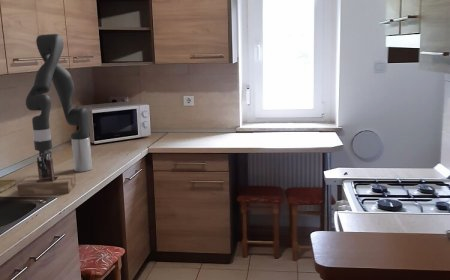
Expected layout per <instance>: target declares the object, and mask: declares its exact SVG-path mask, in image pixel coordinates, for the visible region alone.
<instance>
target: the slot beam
mask: <svg viewBox="0 0 450 280" xmlns="http://www.w3.org/2000/svg"><path fill="white" fill-rule="evenodd" d="M54 177H55V181H54V182H39V176H28V177H26V178H24V179H23V180H22V181H21V182H19V183H17V185H16V188H17V195H18V197H24V196H25V197H27V196H42V195H45V196H46V195H60V194H61V195H65V194H70V192H71V191H72V190H73V189H74V188H75V187H76V186H77V180H76V174H63V175H62V174H61V175H60V174H59V175H54Z"/></svg>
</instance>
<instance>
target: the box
mask: <svg viewBox="0 0 450 280" xmlns="http://www.w3.org/2000/svg"><path fill="white" fill-rule="evenodd" d="M44 162H46V161H44ZM36 164H37V171H38V177H39V182H54V181H55V177H54V176H55V169H54V159H53V158H52V157H51V158H50V159H48V164H47V174H48V177H44V178H43V177H42V169H39V165H38V161H37V160H36ZM42 166H43V165H42Z"/></svg>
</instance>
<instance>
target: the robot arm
mask: <svg viewBox="0 0 450 280" xmlns="http://www.w3.org/2000/svg"><path fill="white" fill-rule="evenodd" d="M62 37H63V36H61V35H60V34H57V33H50V34H49V33H48V34H39V35H37V37H36V40H35V41H36V42H35V43H36V47H37V50H38V53H39V54H40V56H41V58H42V60H43V62H44V63H43V64H42V65H41V66H40V67H39V69H37V71H36V74H35V77H34V83H33V86H32V87H31V89H30V91H29V92H28V94H27V96H26V99H25V106H26V108H27V109H28V110H29V111H32V112H36V111H41V112H40V114H38V115H35V116H33V117H32V120H31V121H32V122H31V123H32V134H33V135H32V137H33V138H32V139H33V144H34V145H33V146H34V150H35V151H38V152H39V153H38V156H37V157H36V162H37V161H38V165H39V169H42V177H43V178H44V177H48V174H47V164H48V159H50V158H52V151H51V150H52V149H53V142H52V141H53V140H52V134H51V133H52V132H51V127H50V115H51V108H52V99H51V98H50V96H49V95H48V94H47V93H49V92H50V91H51V86H52V84H53V87H54V89H55V91H56V93H57V95H58V99H59V101H60V103H61V108H62V110H63V111H62V112H63V114H64V118H65V120H66V123H67V124H68V125H69V126H73V127H75V126H76V127H77V126H79V129H78V130H76V131H74V132H72V133H71V134H70V138H71V148H72V159H73V167H74V168H73V169H74V172H82V173H83V172H89V171H92V170H93V162H92V151H91V148H92V147H91V140H90V139H91V138H90V131H91V130H90V114H89V111H88V109H87V108H85V107H73V103H72V97H73V93H74V91H75V84H74V80H73V77H72V75H71V73H70V72H69V71H68V70H67V69H66V68H65V67H64V66H63V65H62V64H60V63H59V60H60V58H61V57H62V53H63V49H64V40H63V38H62ZM44 161H46V162H44ZM42 165H43V166H42Z"/></svg>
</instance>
